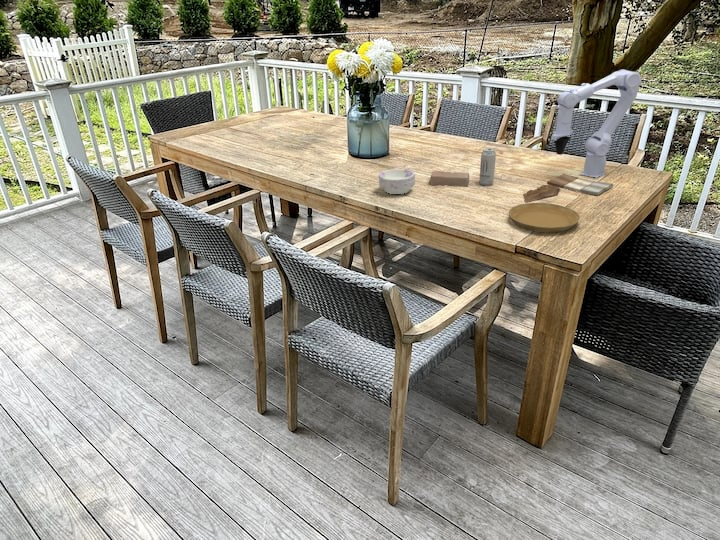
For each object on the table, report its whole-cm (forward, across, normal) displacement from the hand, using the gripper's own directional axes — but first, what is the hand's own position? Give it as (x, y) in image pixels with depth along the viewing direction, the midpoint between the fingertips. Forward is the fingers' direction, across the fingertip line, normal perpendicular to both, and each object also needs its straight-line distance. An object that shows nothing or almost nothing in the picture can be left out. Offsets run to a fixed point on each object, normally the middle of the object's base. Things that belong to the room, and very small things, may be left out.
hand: (559, 154), depth 222 cm
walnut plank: (+10, +5, +6) cm, 13 cm away
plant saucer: (+11, +49, +21) cm, 54 cm away
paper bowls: (+11, +59, -41) cm, 73 cm away
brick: (+11, +36, -31) cm, 49 cm away
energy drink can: (+11, +27, -18) cm, 34 cm away
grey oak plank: (+10, +5, +20) cm, 23 cm away
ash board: (+10, +5, +13) cm, 17 cm away
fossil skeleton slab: (+11, +23, +6) cm, 26 cm away
